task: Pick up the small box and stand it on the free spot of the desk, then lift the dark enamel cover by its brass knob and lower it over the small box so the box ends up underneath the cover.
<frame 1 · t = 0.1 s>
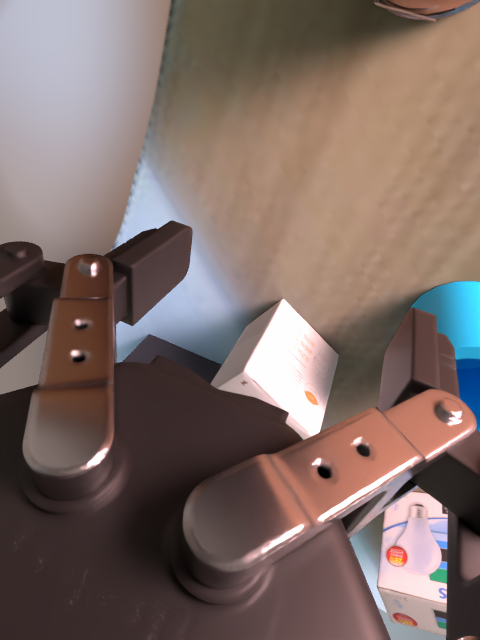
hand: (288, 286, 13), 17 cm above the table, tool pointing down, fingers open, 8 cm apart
small box: (293, 338, 36), on the table
light bulb box: (438, 510, 42), on the table
cover: (190, 382, 46), on the table
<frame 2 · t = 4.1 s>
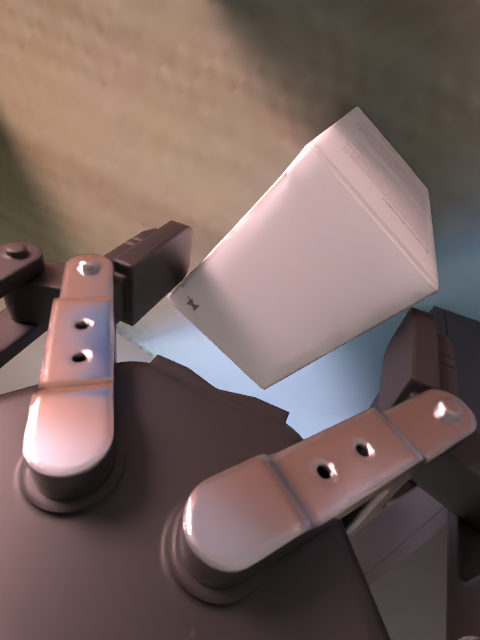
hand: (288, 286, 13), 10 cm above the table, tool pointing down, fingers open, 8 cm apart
small box: (333, 201, 20), on the table
cover: (466, 405, 24), on the table
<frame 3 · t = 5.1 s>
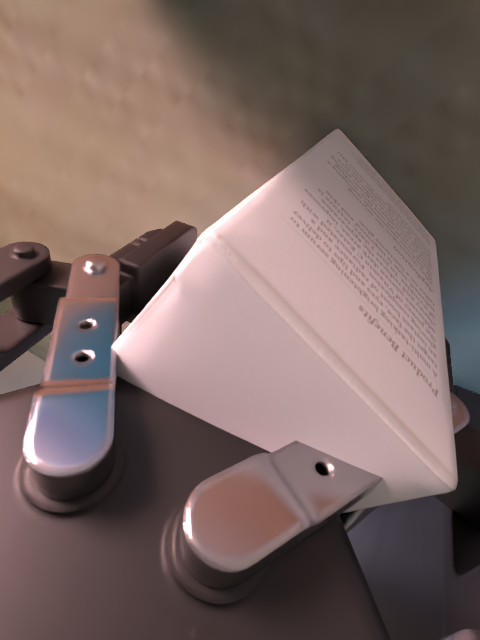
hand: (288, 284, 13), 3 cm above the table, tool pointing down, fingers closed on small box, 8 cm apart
small box: (311, 248, 16), on the table, touching gripper
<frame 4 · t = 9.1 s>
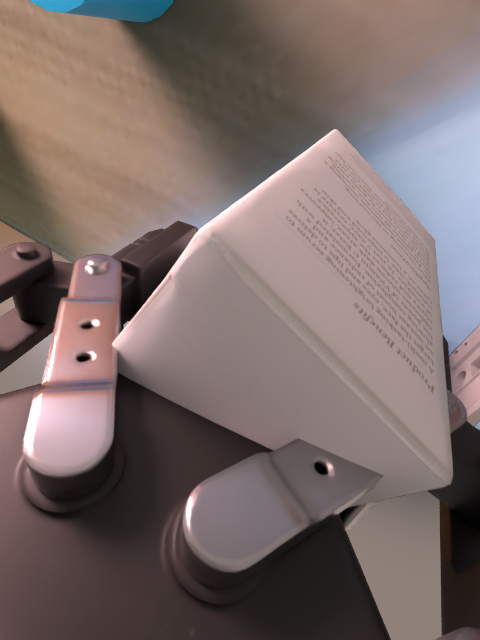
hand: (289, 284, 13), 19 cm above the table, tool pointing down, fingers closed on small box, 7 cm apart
small box: (311, 248, 16), point 15 cm above the table, touching gripper
when the fingers open (3 cm above the table, at t = 13.1 s): small box stays where it is, on the table.
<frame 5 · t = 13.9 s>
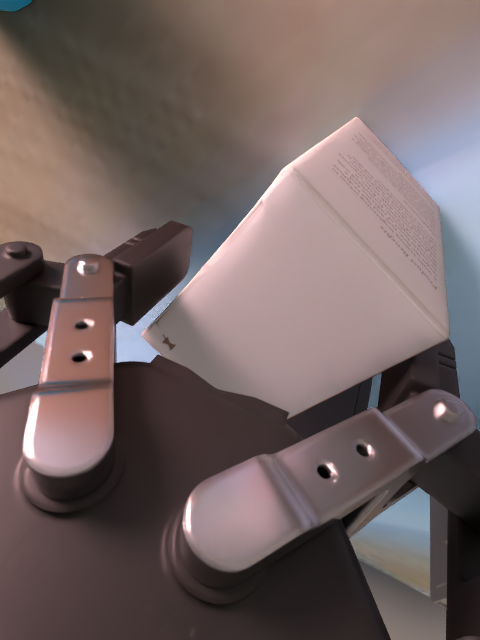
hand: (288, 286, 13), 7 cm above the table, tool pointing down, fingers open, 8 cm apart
small box: (334, 219, 19), on the table
cover: (273, 387, 27), on the table
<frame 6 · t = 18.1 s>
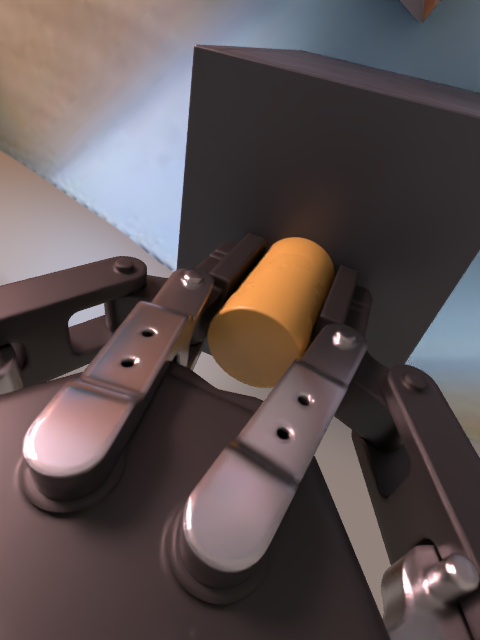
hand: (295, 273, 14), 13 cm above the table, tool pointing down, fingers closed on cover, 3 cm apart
cover: (349, 182, 24), on the table, touching gripper
when the fingers open (13 cm above the table, at t = 25.7 s): cover stays where it is, on the table.
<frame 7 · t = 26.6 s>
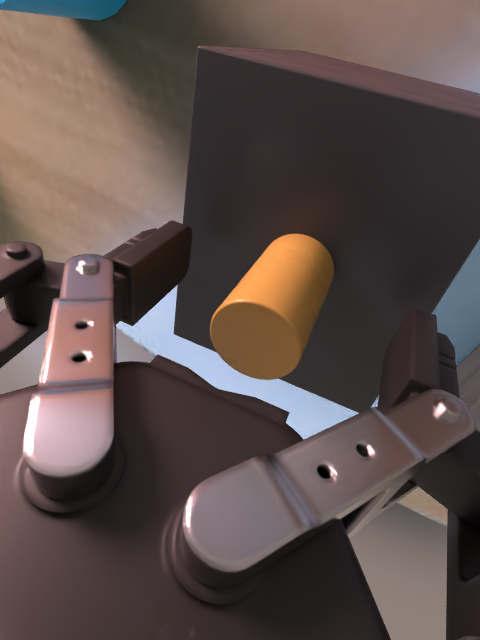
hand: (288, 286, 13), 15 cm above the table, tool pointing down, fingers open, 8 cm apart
cassette: (478, 357, 28), on the table
cover: (349, 181, 24), on the table
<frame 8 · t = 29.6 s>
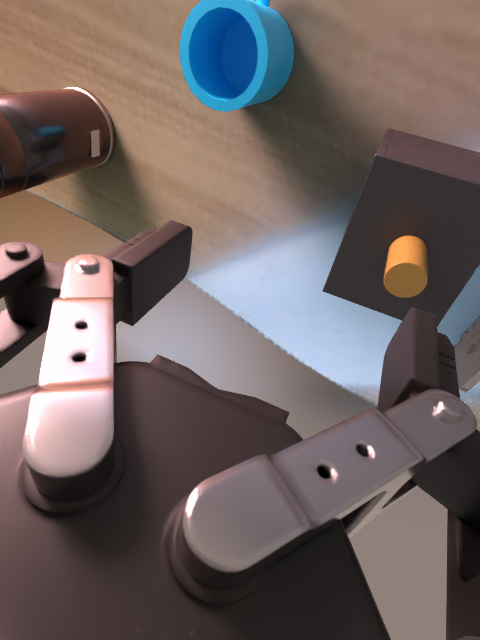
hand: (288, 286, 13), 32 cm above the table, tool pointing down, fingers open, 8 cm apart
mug: (260, 33, 36), on the table
cover: (411, 203, 39), on the table
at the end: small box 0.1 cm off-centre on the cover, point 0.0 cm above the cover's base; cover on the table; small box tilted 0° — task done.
